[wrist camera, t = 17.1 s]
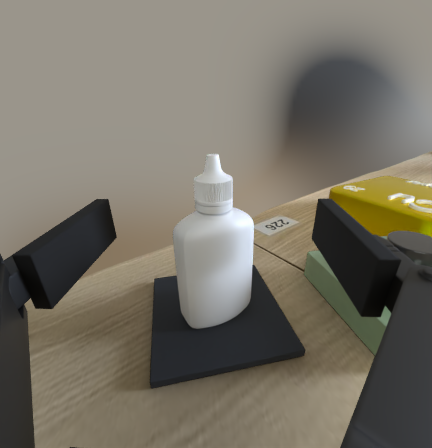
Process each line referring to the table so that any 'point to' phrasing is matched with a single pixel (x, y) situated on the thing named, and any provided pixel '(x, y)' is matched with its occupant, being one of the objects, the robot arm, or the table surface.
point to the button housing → (345, 301)
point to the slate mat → (217, 337)
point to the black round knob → (413, 246)
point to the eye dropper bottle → (213, 252)
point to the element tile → (387, 204)
